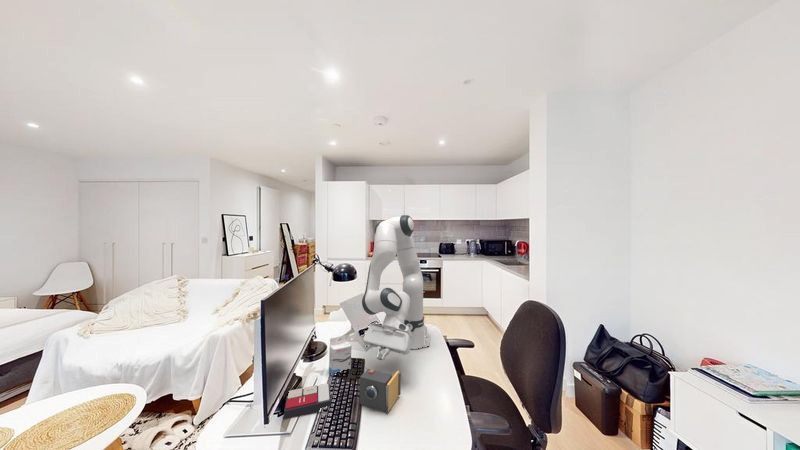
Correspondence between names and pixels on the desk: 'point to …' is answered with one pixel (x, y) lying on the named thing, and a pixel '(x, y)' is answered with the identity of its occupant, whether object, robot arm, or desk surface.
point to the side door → (393, 391)
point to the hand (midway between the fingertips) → (380, 359)
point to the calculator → (307, 400)
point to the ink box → (339, 354)
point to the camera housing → (374, 389)
